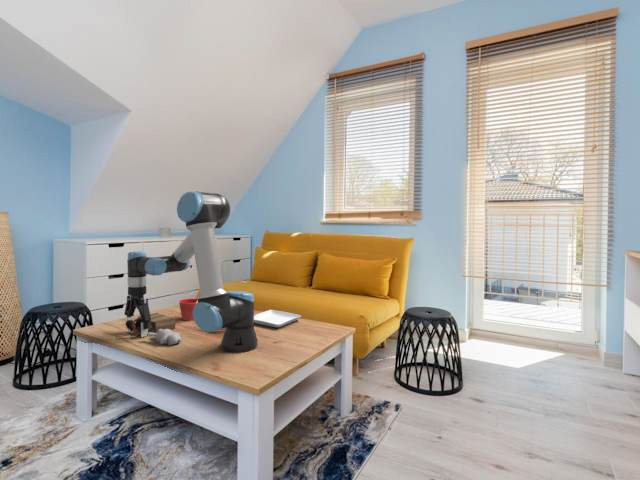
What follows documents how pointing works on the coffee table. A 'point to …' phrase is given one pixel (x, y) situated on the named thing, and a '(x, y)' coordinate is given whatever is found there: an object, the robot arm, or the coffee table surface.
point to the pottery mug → (136, 325)
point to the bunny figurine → (166, 336)
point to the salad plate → (275, 318)
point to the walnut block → (161, 322)
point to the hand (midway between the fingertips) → (137, 333)
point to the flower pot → (187, 308)
